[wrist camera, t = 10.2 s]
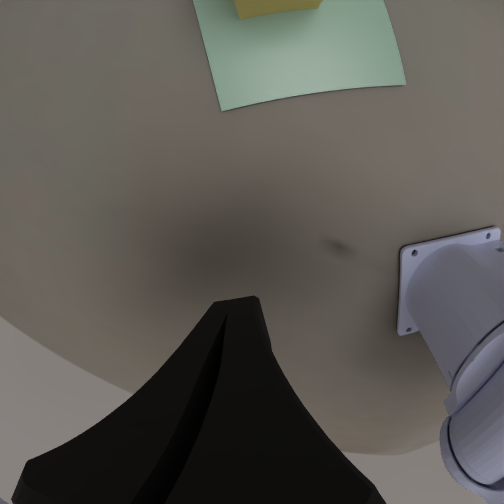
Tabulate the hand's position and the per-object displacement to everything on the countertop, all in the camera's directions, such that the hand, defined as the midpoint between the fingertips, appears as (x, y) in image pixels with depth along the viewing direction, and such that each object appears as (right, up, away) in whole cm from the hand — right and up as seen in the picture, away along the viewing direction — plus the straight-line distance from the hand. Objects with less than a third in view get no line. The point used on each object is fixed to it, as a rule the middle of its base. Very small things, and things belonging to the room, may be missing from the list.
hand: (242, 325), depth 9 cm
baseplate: (+3, +16, +4) cm, 17 cm away
